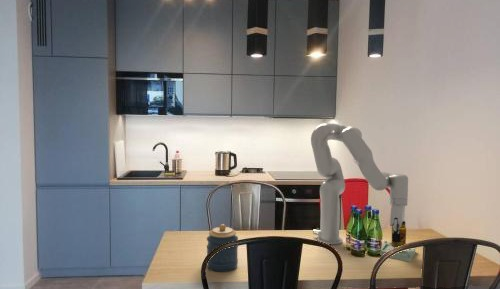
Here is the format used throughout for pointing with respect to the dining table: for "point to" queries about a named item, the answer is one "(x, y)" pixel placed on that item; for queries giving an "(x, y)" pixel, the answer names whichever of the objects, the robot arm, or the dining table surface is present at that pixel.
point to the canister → (225, 257)
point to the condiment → (402, 237)
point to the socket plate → (402, 255)
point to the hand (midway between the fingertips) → (397, 239)
